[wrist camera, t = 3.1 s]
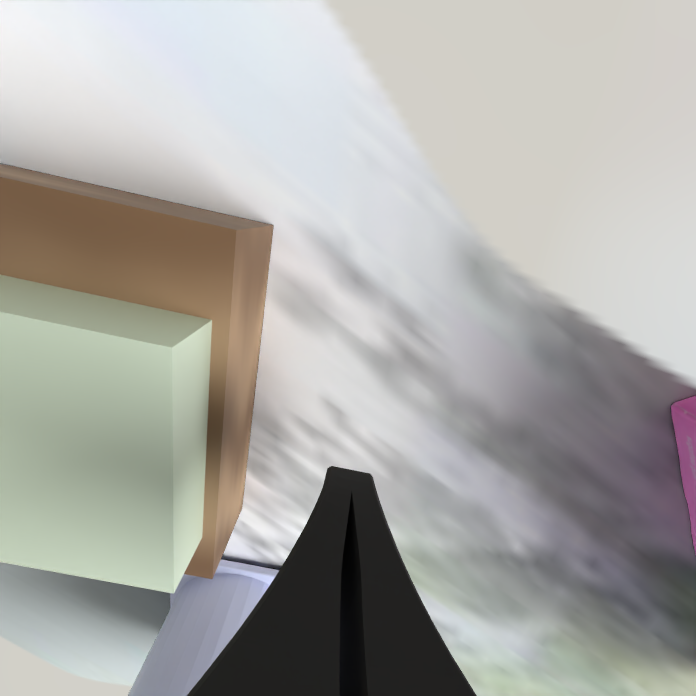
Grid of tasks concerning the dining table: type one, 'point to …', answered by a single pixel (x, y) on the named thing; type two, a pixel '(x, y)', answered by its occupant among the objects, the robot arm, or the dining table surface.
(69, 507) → the tile
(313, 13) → the dining table surface
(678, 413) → the gum box
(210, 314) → the wooden block
